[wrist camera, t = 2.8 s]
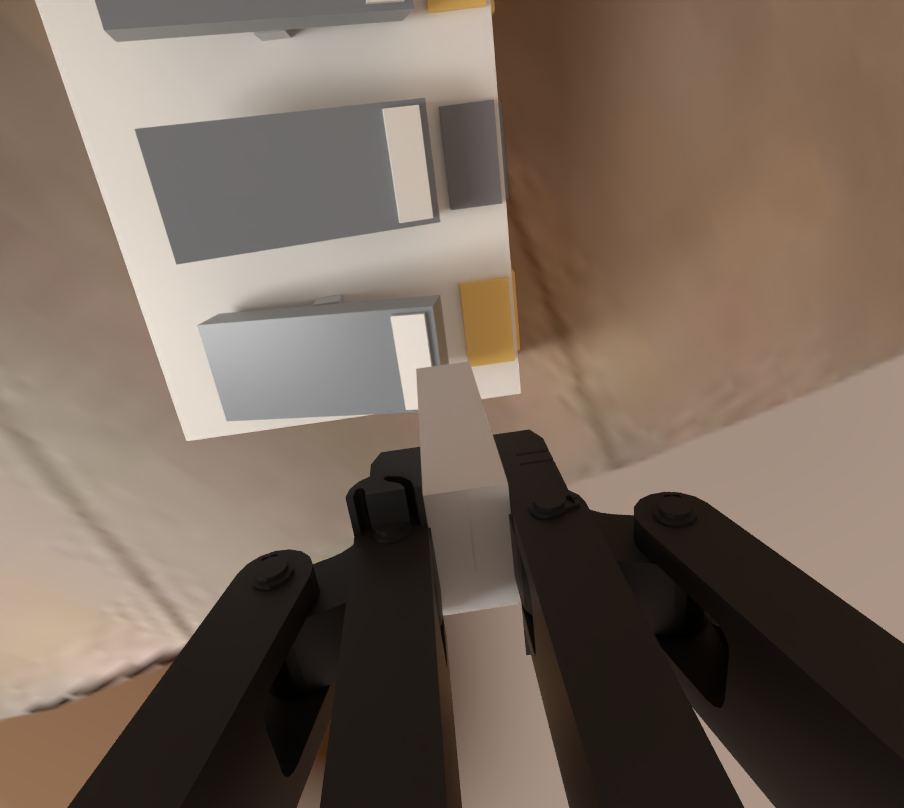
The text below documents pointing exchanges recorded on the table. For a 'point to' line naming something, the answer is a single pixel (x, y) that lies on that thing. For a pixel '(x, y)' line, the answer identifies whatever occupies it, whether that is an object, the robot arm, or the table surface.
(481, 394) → the switch unit
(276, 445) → the table surface
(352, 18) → the block
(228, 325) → the rocker
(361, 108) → the block
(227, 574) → the table surface
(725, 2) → the table surface
